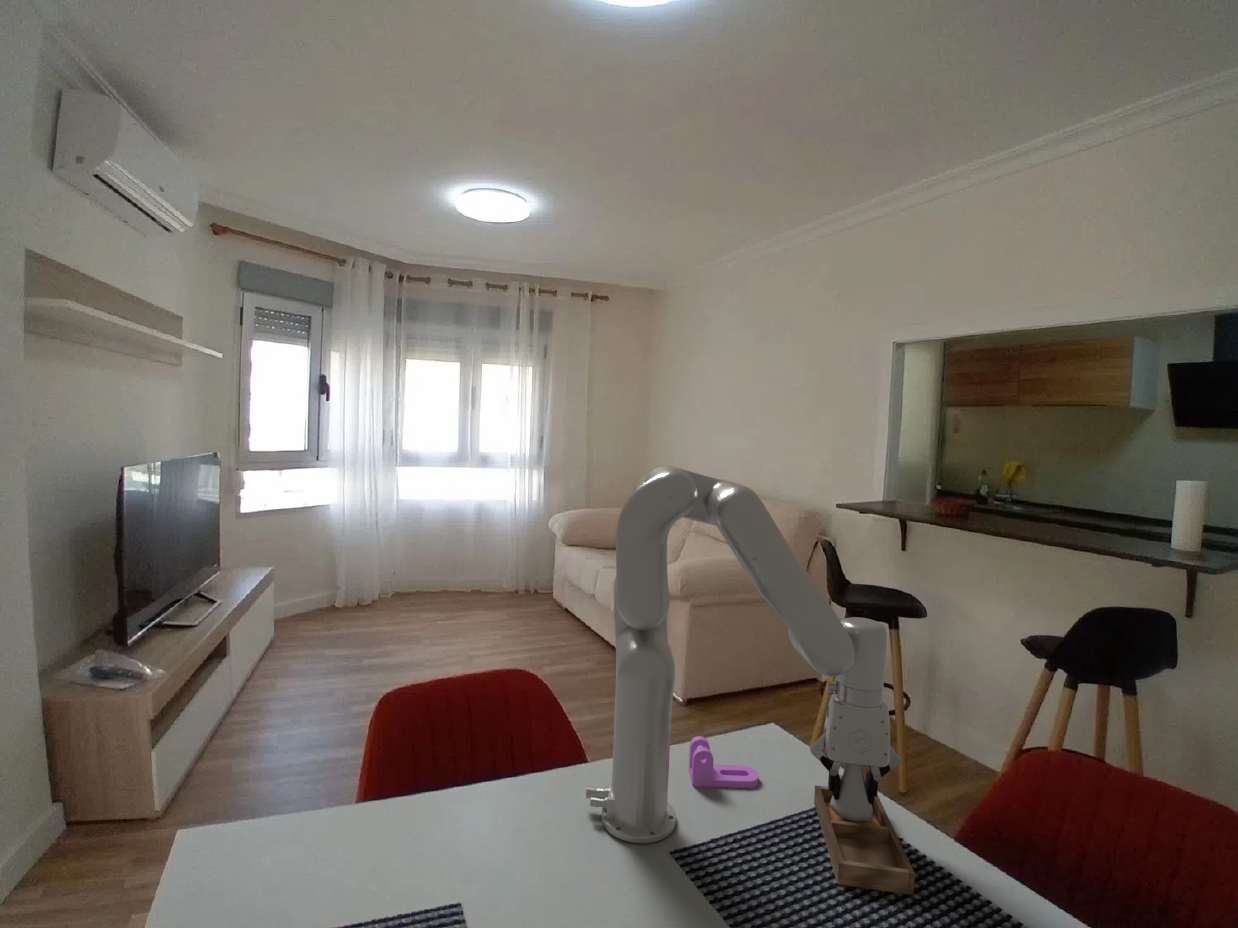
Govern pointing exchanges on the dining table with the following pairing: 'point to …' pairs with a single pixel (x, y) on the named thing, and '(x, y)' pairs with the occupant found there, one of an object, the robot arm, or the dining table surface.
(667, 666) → the robot arm
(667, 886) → the dining table surface
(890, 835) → the divided wooden tray
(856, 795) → the flask
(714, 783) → the bracket
